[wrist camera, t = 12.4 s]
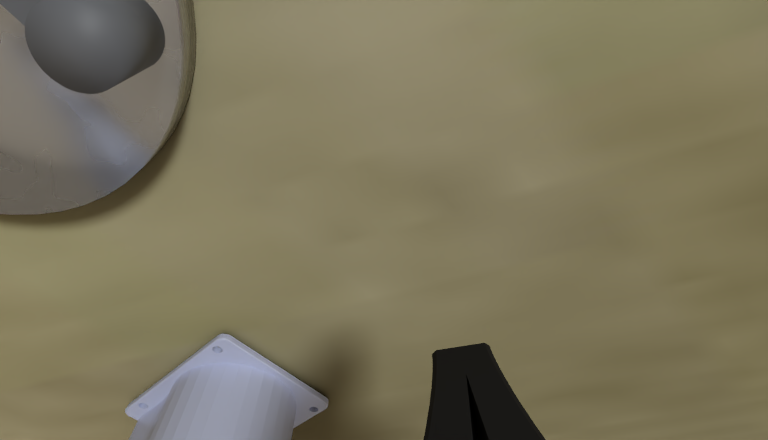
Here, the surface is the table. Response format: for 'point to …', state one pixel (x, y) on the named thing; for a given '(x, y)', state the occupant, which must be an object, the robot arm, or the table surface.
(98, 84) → the lever
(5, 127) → the levelling disc
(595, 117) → the table surface
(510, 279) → the table surface
